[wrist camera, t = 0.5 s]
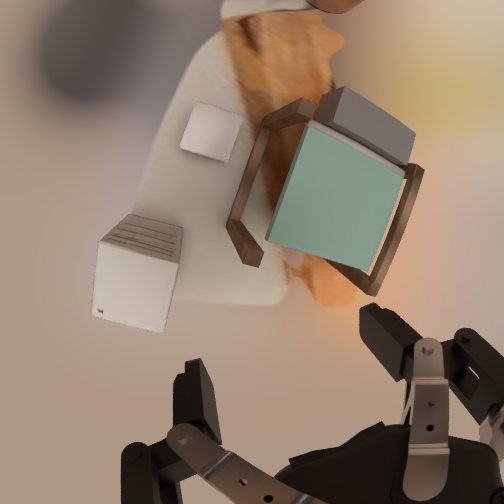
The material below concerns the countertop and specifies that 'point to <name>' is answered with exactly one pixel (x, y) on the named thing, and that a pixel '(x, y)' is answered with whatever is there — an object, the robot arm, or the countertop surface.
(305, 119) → the frame
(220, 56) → the countertop surface
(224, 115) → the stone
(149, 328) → the supplement box
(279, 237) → the trapdoor
